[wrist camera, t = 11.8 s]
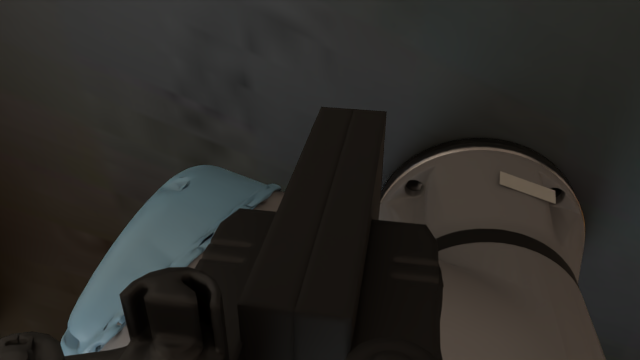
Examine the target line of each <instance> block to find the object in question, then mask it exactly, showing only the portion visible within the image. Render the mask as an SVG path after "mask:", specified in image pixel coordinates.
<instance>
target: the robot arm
mask: <svg viewBox="0 0 640 360" xmlns="http://www.w3.org/2000/svg"><path fill="white" fill-rule="evenodd" d="M385 126H386V112H385V111H371V110H357V109H342V108H328V107H321V109H320V111H319V113H318V116H317V118H316V121H315V123H314V125H313V128H312V130H311V132H310V135H309V137H308V139H307V142H306V144H305V146H304V149H303V151H302V153H301V156H300V158H299V160H298V163H297V165H296V167H295V170H294V172H293V174H292V177H291V179H290V181H289V184H288V186H287V188H286V191H285V193H284V192H282V191H280V190H281V186H279V185H276V184H269V185H266V184H263V183H261V182H258V181H255V180H253V179H250V178H247V177H245V176H242V175H239V174H237V173H234V172H231V171H229V170H226V169H223V168H221V167H217V166H212V165H200V166H195V167H191V168H188V169H186V170H184V171H182V172H180V173H179V174H177V175H175V176H174V177H173V178H171V179H170V180H169V181H167V182H166V183H165V184H164V185H163V186H162V187H161V188H160V189H159V190H158V191H157V192H156V193H155V194H154V195H153V196H152V197H151V198H150V199H149V200H148V201H147V202H146V203H145V204H144V205H143V207H142V208H141V209H140V210H139V211H138V212H137V214H136V215H135V216H134V217H133V218H132V220H131V221H130V222H129V223H128V225H127V226H126V227H125V229H124V230H123V231H122V233H121V234H120V235H119V237H118V238H117V239H116V241H115V242H114V244H113V245H112V246H111V248H110V249H109V251H108V252H107V254H106V255H105V256H104V258H103V260H102V261H101V263H100V264H99V266H98V267H97V269H96V270H95V272H94V274H93V275H92V277H91V279H90V280H89V282H88V284H87V285H86V287H85V289H84V290H83V292H82V294H81V296H80V297H79V299H78V301H77V303H76V305H75V307H74V309H73V311H72V313H71V315H70V318H69V321H68V329H67V330H66V332H65V334H64V336H63V337H62V339H61V344H60V342H58V341H57V340H55V339H54V338H53V337H51V336H50V335H48V334H42V333H37V332H26V333H18V334H11V335H9V336H6V337H3V338H0V360H606V358H605V356H604V353H603V350H602V348H601V345H600V342H599V340H598V337H597V334H596V332H595V329H594V326H593V323H592V321H591V318H590V315H589V313H588V310H587V307H586V305H585V302H584V299H583V297H582V294H581V292H580V289H579V286H578V279H579V273H580V267H581V261H582V255H583V249H584V242H585V221H584V216H583V212H582V209H581V206H580V204H579V202H578V199H577V197H576V195H575V192H574V190H573V188H572V186H571V184H570V183H569V181H568V180H567V178H566V177H565V176H564V175H563V173H562V172H561V171H560V170H559V169H558V168H557V167H556V166H555V165H554V164H553V163H552V162H550V161H549V160H548V159H546V158H545V157H543V156H542V155H540V154H539V153H537V152H535V151H533V150H531V149H529V148H527V147H524V146H521V145H519V144H515V143H512V142H508V141H503V140H497V139H487V138H471V139H461V140H455V141H450V142H447V143H443V144H440V145H437V146H434V147H431V148H429V149H427V150H425V151H423V152H421V153H419V154H417V155H416V156H414V157H413V158H411V159H410V160H408V161H407V162H406V163H404V164H403V165H402V166H401V167H400V168H399V169H398V170H397V171H396V172H395V173H394V174H393V175H392V176H391V178H390V179H389V180H388V182H387V183H386V185H385V186H384V188H383V190H382V192H381V183H382V169H383V155H384V140H385Z"/></svg>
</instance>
